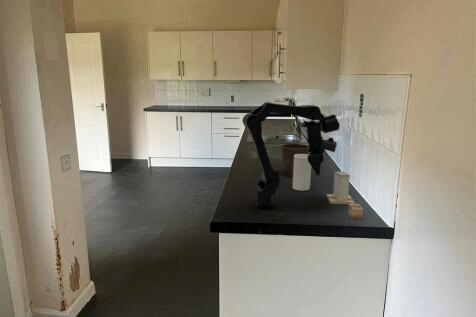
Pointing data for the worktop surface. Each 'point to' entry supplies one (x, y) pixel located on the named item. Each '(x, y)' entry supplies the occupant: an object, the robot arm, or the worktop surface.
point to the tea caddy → (341, 185)
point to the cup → (301, 172)
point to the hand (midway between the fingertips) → (318, 171)
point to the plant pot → (292, 155)
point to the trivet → (336, 201)
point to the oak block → (355, 211)
